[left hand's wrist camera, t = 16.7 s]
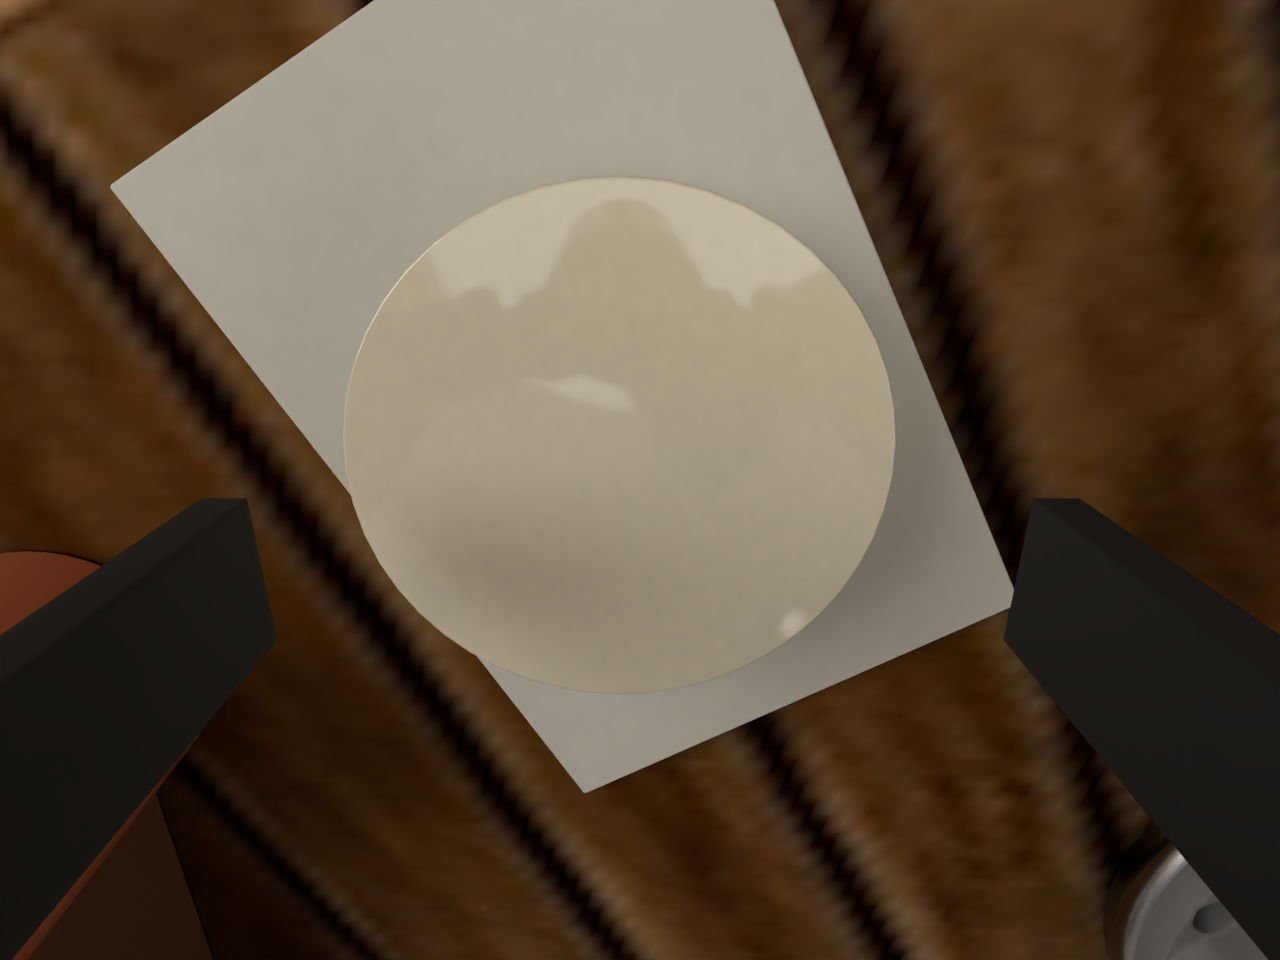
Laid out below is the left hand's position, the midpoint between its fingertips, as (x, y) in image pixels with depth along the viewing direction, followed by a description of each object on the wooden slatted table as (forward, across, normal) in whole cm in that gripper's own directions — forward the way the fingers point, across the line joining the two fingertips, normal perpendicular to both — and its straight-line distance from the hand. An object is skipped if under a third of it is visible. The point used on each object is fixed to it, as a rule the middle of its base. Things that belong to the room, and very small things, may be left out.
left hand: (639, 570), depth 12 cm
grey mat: (+7, 0, -1) cm, 7 cm away
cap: (+6, 0, -1) cm, 6 cm away
